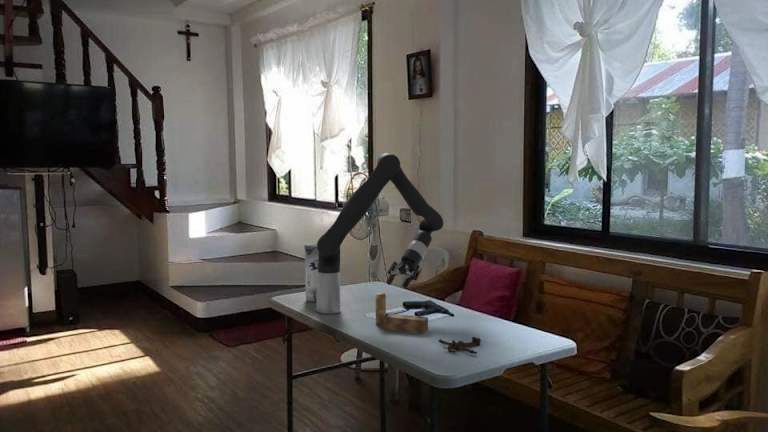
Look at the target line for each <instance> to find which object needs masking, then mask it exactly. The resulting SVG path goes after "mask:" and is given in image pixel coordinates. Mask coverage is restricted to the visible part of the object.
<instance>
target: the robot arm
mask: <svg viewBox="0 0 768 432" xmlns="http://www.w3.org/2000/svg"><path fill="white" fill-rule="evenodd" d="M389 182H391V183H392V184H393V185H394V186H395V188H396V189H397V191H398V192H399V194H400V195H401V196H402V198H403V200H404V201H405V203H406V204H407V205H408V207H409V208H410V210H411V212H413V213H414V215H416V216H418V217H422V219H421V220H420V222H419V224H418V228H417V231H416V234H415V236H414V237H413V239H412V241H411V242H410V243H409V245H408V246H407V248H406V250H405V251H404V253H403V255H402V256H401V260H400V262H397V261H393V262H392V264H391V265H390V267H389V269H388V270H387V272H386V273H387V274H388V275H389V276H388V278H387V279H386V283H387V285H388V286H391V285H392V283H393V281H394V280H395V278H396V277H398V276H402V275H405V276H407V277H406V278H405V279H404V281H403V283H402V287H403V289H407V288H408V287H409V285H410V283H411V282H412V281H417V280H418V278H419V276H420V274H421V272H422V271H423V270H422V269H423V268H422V267H421V265H420V263H421V262H422V259H423V258H424V256H425V254H426V251H427V250H428V248H429V246H430V244H431V243H432V237H433V236H432V235H431V234H432V233H434V232H438V231H440V230H441V229H442V228H443V227H444V218H443V217H442V215H441V214H440V213H439V211H437V210H436V209H434V208H433V207H432V206H431V205H429V203H428V202H427V201H426V199H425V198H424V197H423V196H424V195H422V194H421V193H420V191H419V190H418V189H417V188H416V187H415V185H414V184H413V183H412V181H410V179H409V178H408V177H407V175H406V174H405V172H404V171H403V169H402V167H401V161H400V158H399V157H398V156H397V155H396V154H394V153H391V152H385V153H382V154H381V155H379V157H378V159H377V162H376V166H375V168H374V169H373V171H372V173H371V174H370V176H369V177H368V178H367V179H366V180H365V181H364V182H363V183H362V184H361V185H360V186H359V187H358V188H356V190H355V191H354V192H353V193H352V194H351V195H350V197H349V198H348V200H347V201H346V203H345V204H344V205H343V207H342V209H341V210H340V212H339V214H338V216H337V218H336V219H335V221H334V222H333V224H332V225H331V226H330V228H328V229H327V231H326V232H325V233H324V234H322V235H321V236H320V237H319V239H318V240H317V242H316V244H317V250H318V252H319V260H318V289H317V290H316V301H317V302H316V313H321V314H325V315H327V314H328V315H332V314H338V313H340V312H341V246H342V243H343V242H344V241H345V239H346V237H347V236H348V234H349V233H350V232H351V231H352V230H353V229H354V228H355V227H356V225H357V224H359V222H360V221H361V220H363V218H364V217H365V215H366V214H367V212H368V211H369V210H370V209H371V208H372V205H374V203H375V201H376V200H377V199H378V197H379V196H380V193H381V192H382V190H383V189H384V188H385V187H386V185H387V184H388V183H389Z"/></svg>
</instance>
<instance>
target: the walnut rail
mask: <svg viewBox="0 0 768 432" xmlns="http://www.w3.org/2000/svg"><path fill="white" fill-rule="evenodd" d="M383 330H386V331H395V332H396V331H397V332H403V333H404V332H405V333H410V334H411V333H414V334H419V335H420V334H422V335H424V334H425V333H427V332H428V331H429V317H427V316H415V315H408V314H398V313H390V312H389V313H386V315H385V316H384V325H383Z"/></svg>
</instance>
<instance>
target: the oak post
mask: <svg viewBox="0 0 768 432" xmlns="http://www.w3.org/2000/svg"><path fill="white" fill-rule="evenodd" d="M386 295H387V294H386V293H385V292H377V293H375V325H376V326H384V316H385V315H387V302H386V301H387V300H386V299H387V296H386Z"/></svg>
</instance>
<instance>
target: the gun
mask: <svg viewBox="0 0 768 432" xmlns="http://www.w3.org/2000/svg"><path fill="white" fill-rule="evenodd" d="M402 307H403V308H406V309H407V308H408V309H423V310H418V311H417V310H416V311H414V314H415V315H417V316H419V317H422V316H421V315H423V316H426V315H425V314H427V315H431V314H434V313H439V314H440V313H441V314H442V315H444V314H445V315H448V316H450V317H454V316H455V314H454V313H452V312H450V310H449V309H447V308H446V307H444V306H441V305H440V304H437V303H436V302H434V301H432V300H429V299H428V300H420V301H419V300H417V301H416V300H413V301H411V300H409V301H408V300H407V301H403V302H402ZM415 315H414V316H415Z"/></svg>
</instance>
